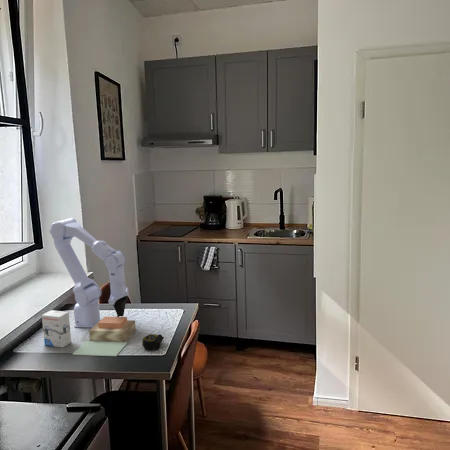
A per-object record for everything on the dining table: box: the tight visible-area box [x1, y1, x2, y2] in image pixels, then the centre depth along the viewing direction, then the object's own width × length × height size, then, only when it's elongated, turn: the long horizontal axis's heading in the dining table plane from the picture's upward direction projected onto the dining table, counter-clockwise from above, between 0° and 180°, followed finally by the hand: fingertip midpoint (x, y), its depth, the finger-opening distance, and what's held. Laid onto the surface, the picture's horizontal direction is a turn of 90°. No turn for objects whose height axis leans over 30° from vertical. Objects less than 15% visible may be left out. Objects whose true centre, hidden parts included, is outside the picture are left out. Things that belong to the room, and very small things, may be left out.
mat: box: [72, 340, 128, 357], centre depth 147 cm, size 16×10×1 cm, turn 81°
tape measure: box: [141, 333, 165, 351], centre depth 147 cm, size 7×7×4 cm
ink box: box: [41, 309, 72, 348], centre depth 152 cm, size 9×5×12 cm, turn 71°
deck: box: [88, 319, 137, 342], centre depth 158 cm, size 14×10×4 cm
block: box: [98, 316, 128, 328], centre depth 158 cm, size 9×6×2 cm, turn 81°
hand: (120, 315), depth 165 cm, fingers closed
